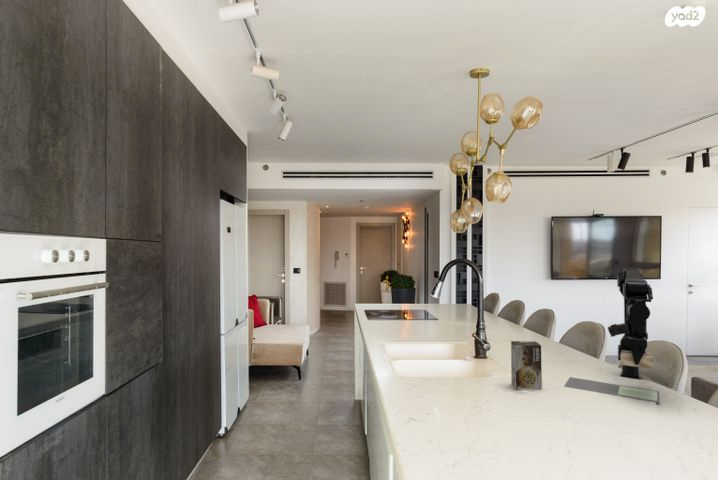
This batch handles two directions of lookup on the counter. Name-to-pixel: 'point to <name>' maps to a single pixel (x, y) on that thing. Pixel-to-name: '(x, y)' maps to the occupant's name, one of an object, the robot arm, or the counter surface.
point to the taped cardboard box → (644, 362)
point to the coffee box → (526, 365)
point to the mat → (613, 389)
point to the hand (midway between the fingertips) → (636, 362)
